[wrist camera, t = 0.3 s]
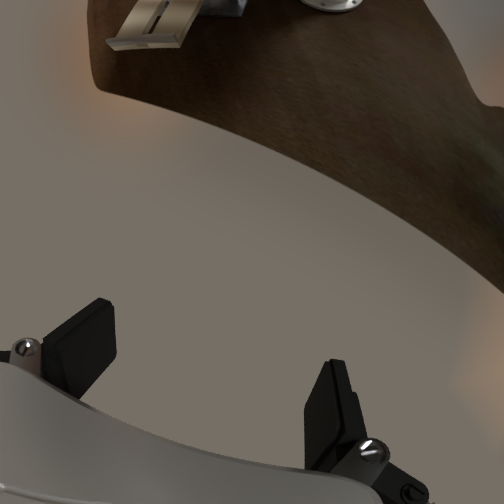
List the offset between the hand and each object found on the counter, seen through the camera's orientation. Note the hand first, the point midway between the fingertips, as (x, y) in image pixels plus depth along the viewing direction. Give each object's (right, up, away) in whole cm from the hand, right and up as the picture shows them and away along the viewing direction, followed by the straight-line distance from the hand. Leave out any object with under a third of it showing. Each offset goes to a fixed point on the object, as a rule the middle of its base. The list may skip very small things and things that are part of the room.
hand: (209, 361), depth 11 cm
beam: (-8, +45, +13) cm, 48 cm away
